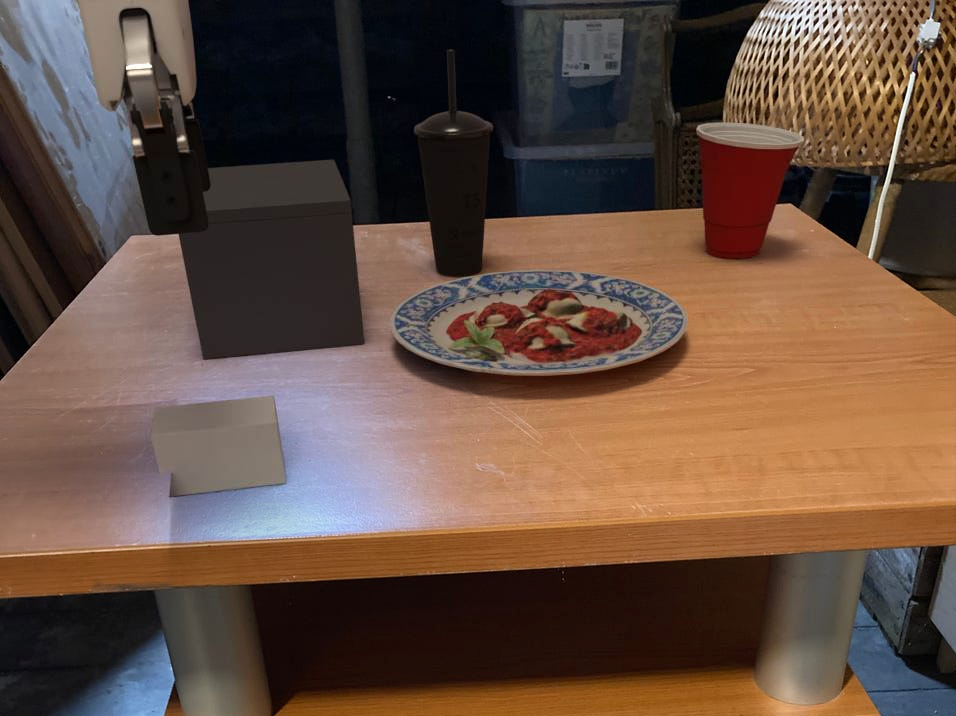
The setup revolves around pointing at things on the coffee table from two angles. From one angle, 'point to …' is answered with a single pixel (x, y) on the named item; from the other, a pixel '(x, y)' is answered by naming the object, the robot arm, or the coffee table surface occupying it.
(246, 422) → the light gray rectangular block
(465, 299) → the ceramic plate
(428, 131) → the drinking cup
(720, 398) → the coffee table surface
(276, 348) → the dark lidded cube box
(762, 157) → the plastic cup
